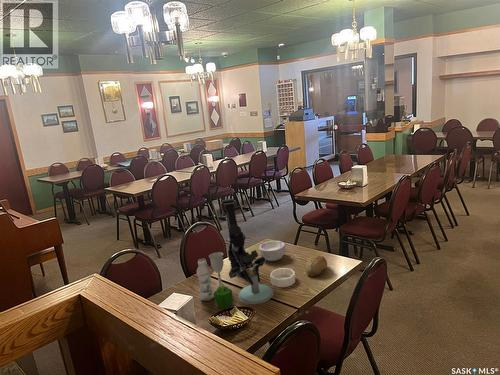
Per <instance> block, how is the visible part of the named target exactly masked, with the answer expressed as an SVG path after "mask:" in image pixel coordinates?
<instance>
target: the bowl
mask: <svg viewBox="0 0 500 375" xmlns="http://www.w3.org/2000/svg"><path fill="white" fill-rule="evenodd" d="M269 274H270V275H269V276H270V277H269V278H270V284H272V286H274V287H277V288H287V287H290V286H291V287H292V285H293V284H295V283H296V274H295V271H294V270H293V269H292V268H287V267H282V268H281V267H280V268H276V269H274V270H272V271H271V272H270V273H269Z"/></svg>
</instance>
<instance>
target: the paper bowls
mask: <svg viewBox="0 0 500 375" xmlns="http://www.w3.org/2000/svg"><path fill="white" fill-rule="evenodd" d="M258 251H259V256H260V257H264V258H265V259H266V261H268V262H276V261H278V260H280V259H282V258H283V256H284V255H285V254H286V252H287V251H286V243H285V242H283V241H281V240H269V241H265V242H263V243H261V244H260V245H259V246H258Z"/></svg>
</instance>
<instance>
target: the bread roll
mask: <svg viewBox="0 0 500 375" xmlns="http://www.w3.org/2000/svg"><path fill="white" fill-rule="evenodd" d="M327 266H328V261H327V259H326V258H325V257H324V256H321V255H314V256H312V257H310V258H308V260H307V262H306V263H305V267H304V268H305V269H304V270H305V274H307V276H309V277H312V278H313V277H316V276H318V275H320V274H321V273H323V271H324V270H326V268H327Z"/></svg>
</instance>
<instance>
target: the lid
mask: <svg viewBox="0 0 500 375" xmlns="http://www.w3.org/2000/svg"><path fill="white" fill-rule="evenodd" d="M249 277H250V278H251V280H252V282H253V285H251V284H249V285H247V286H245V287H243V288H242V289H241V290H240V291H241V292H240V291H239V292H240V297H241V299H242V300H244V301H246V302H260V301H264V300H266V299H268V298H269V297H270V296H271V294H272V291H271V288H272V287H270V286H268V285H267V284H264V283H263V284H262V283H259V282H258V276H257V275H254V274H251V275H249Z"/></svg>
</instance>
